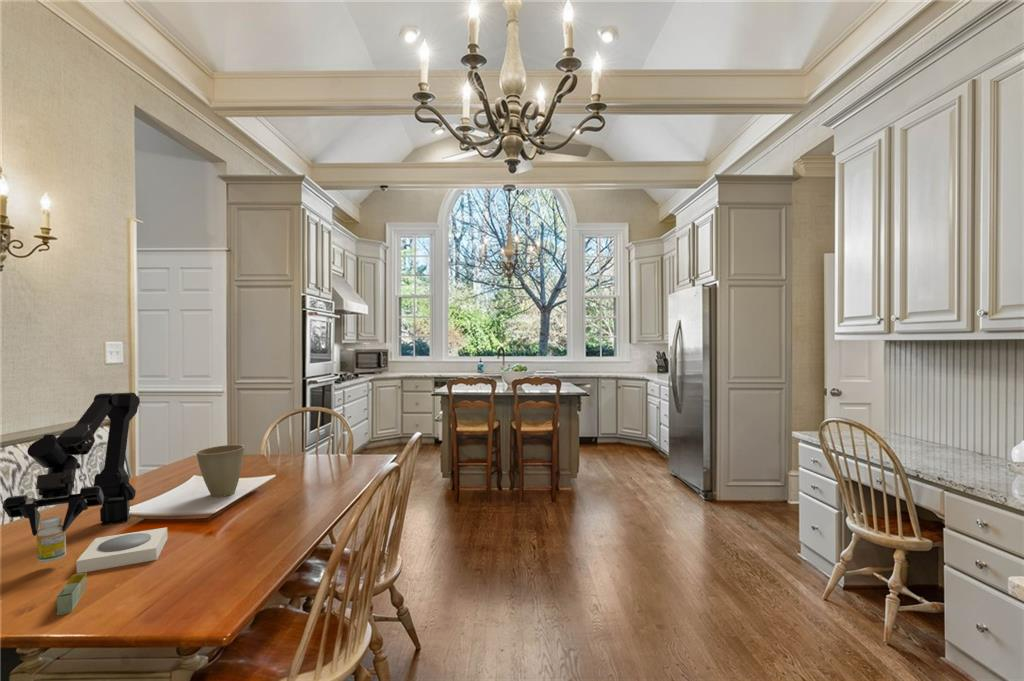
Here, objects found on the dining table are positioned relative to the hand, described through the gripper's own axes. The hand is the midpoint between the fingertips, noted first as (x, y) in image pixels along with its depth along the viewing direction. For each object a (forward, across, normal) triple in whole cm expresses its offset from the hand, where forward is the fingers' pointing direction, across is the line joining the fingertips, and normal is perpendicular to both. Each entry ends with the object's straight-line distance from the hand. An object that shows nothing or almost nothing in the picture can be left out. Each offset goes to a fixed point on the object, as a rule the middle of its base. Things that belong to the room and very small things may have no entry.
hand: (49, 532), depth 129 cm
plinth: (+5, +15, +7) cm, 17 cm away
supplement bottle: (+4, 0, +6) cm, 7 cm away
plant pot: (-27, +35, +41) cm, 61 cm away
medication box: (+23, +9, -10) cm, 26 cm away
